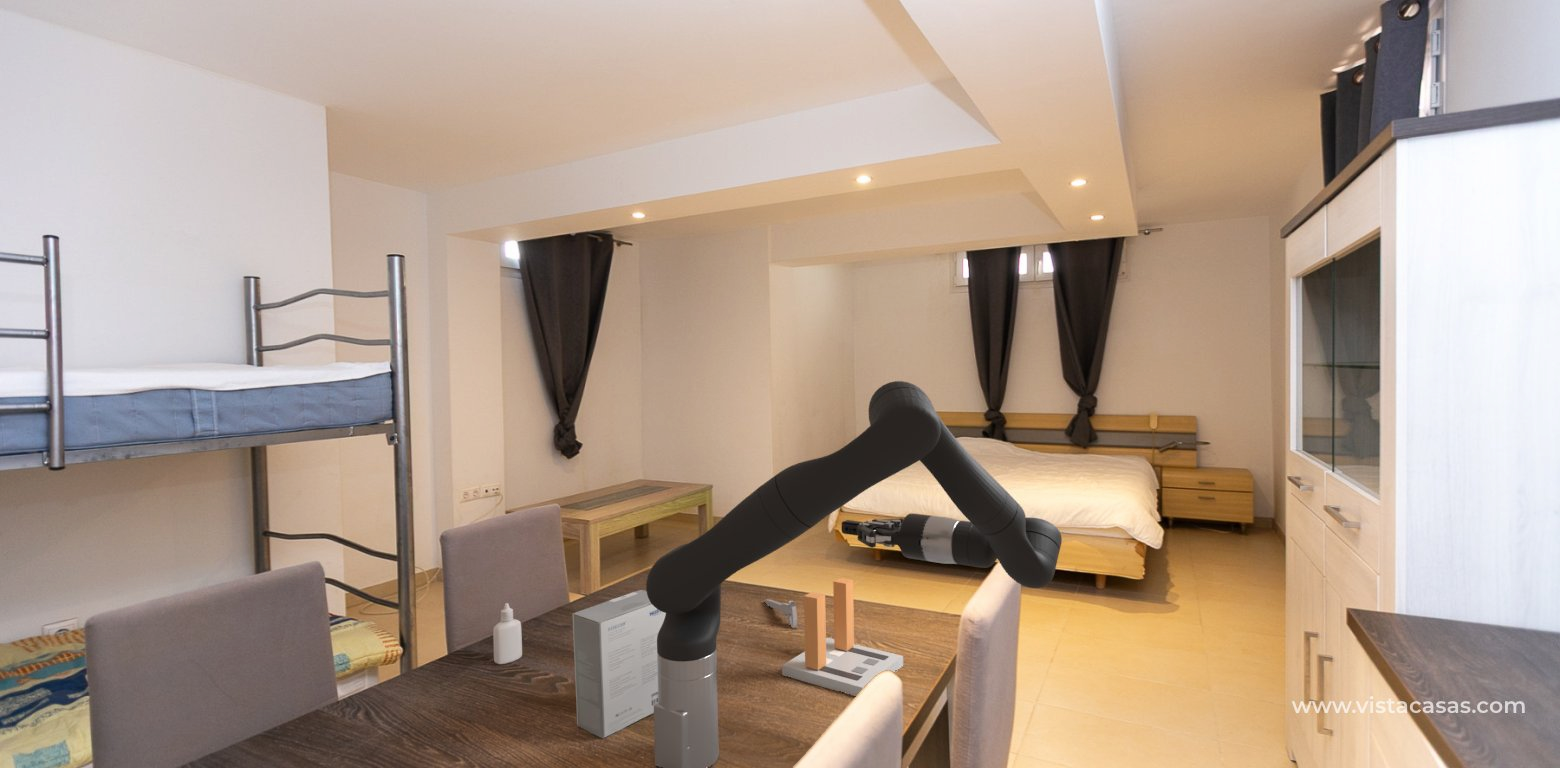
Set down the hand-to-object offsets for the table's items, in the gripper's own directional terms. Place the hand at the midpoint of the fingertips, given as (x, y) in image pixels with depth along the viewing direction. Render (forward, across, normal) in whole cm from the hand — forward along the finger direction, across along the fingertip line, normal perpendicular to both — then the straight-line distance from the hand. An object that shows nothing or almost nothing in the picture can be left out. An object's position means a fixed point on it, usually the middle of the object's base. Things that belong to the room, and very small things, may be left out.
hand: (843, 526), depth 130 cm
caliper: (+36, -30, +32) cm, 57 cm away
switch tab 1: (+10, -5, +30) cm, 32 cm away
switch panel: (+7, -11, +32) cm, 35 cm away
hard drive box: (+30, +26, +32) cm, 51 cm away
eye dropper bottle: (+69, +23, +32) cm, 80 cm away
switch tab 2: (+10, -16, +30) cm, 35 cm away
